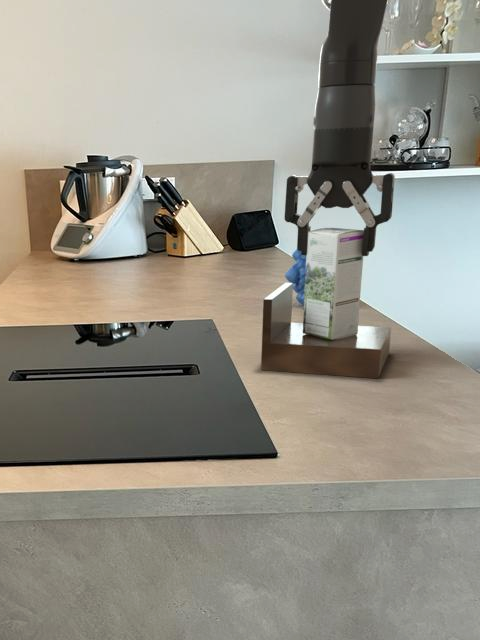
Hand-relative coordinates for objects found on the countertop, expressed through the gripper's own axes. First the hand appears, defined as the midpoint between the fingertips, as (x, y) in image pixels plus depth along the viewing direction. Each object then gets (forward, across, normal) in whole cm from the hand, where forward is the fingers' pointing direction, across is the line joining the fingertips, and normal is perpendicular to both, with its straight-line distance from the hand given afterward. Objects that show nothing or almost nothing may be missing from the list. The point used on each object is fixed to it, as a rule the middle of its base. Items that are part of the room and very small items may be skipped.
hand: (334, 255), depth 108 cm
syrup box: (+11, 0, 0) cm, 11 cm away
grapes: (+15, +12, -41) cm, 45 cm away
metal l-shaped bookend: (+15, 0, 0) cm, 15 cm away
